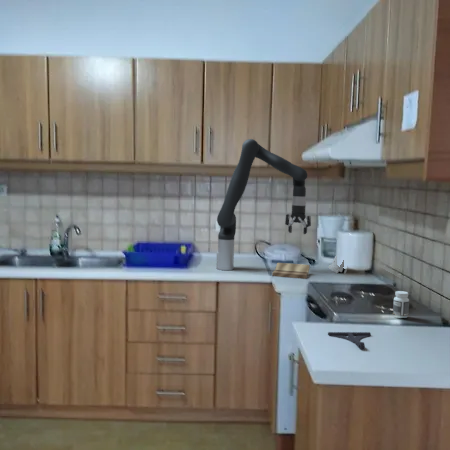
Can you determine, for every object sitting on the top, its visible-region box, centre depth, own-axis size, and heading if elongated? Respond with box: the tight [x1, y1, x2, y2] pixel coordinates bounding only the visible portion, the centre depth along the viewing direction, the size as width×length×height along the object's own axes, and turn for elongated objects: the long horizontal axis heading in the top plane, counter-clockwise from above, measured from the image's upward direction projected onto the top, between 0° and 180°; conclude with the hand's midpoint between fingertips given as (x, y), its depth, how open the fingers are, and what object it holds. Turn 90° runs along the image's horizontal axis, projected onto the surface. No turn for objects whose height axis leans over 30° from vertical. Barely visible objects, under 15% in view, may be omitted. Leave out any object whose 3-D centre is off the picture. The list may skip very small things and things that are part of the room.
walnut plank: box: [271, 269, 309, 280], centre depth 262 cm, size 18×7×2 cm, turn 73°
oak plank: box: [274, 262, 311, 274], centre depth 269 cm, size 18×7×2 cm, turn 73°
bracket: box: [327, 331, 372, 351], centre depth 160 cm, size 14×15×3 cm
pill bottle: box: [392, 290, 410, 316], centre depth 189 cm, size 6×6×10 cm
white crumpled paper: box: [328, 254, 348, 274], centre depth 281 cm, size 17×5×10 cm, turn 6°
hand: (297, 233), depth 273 cm, fingers open, 8 cm apart
